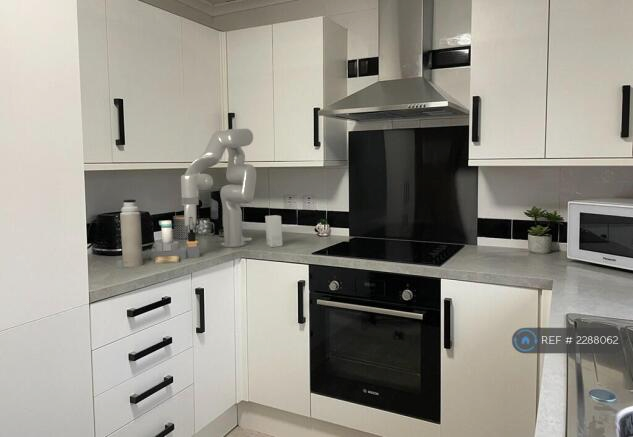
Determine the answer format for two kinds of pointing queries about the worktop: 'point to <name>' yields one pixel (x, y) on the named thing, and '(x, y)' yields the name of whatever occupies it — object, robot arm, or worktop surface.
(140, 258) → the thermos bottle
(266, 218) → the skincare box
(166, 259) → the tray
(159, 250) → the housing
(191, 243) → the release button
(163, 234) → the cylinder
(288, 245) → the worktop surface
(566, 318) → the worktop surface
